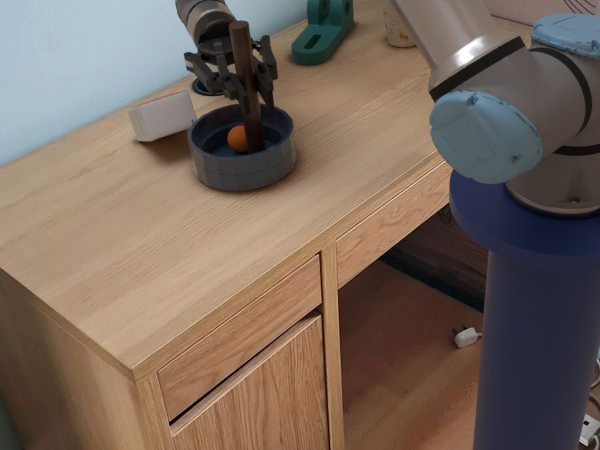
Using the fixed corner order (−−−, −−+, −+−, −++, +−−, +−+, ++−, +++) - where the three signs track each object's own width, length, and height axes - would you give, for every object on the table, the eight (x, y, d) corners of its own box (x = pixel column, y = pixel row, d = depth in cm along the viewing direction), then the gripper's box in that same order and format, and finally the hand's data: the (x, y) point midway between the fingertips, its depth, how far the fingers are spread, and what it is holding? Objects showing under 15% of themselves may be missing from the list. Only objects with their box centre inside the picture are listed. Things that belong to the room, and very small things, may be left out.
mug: (405, 26, 149) (405, -26, 143) (453, 46, 141) (455, -8, 135) (372, 40, 146) (370, -12, 139) (419, 62, 137) (420, 7, 131)
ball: (261, 149, 118) (258, 126, 116) (240, 160, 116) (236, 137, 114) (245, 140, 121) (241, 117, 118) (224, 151, 119) (220, 128, 116)
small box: (173, 93, 126) (189, 88, 116) (184, 126, 127) (200, 125, 117) (125, 107, 123) (137, 104, 113) (136, 142, 124) (150, 141, 115)
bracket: (321, 21, 154) (318, -18, 150) (353, 24, 152) (352, -16, 147) (286, 63, 141) (282, 21, 137) (322, 66, 139) (318, 24, 134)
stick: (269, 153, 114) (252, 23, 102) (255, 160, 113) (236, 30, 101) (258, 147, 116) (240, 18, 104) (244, 154, 115) (224, 25, 103)
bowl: (318, 161, 116) (315, 126, 112) (236, 207, 108) (230, 171, 105) (253, 126, 125) (249, 92, 121) (174, 166, 118) (167, 132, 114)
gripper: (268, 45, 125) (317, 113, 107) (171, 67, 122) (205, 140, 104) (262, 0, 120) (312, 63, 103) (162, 21, 117) (196, 90, 99)
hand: (258, 102), depth 103 cm, fingers closed on stick, 3 cm apart
